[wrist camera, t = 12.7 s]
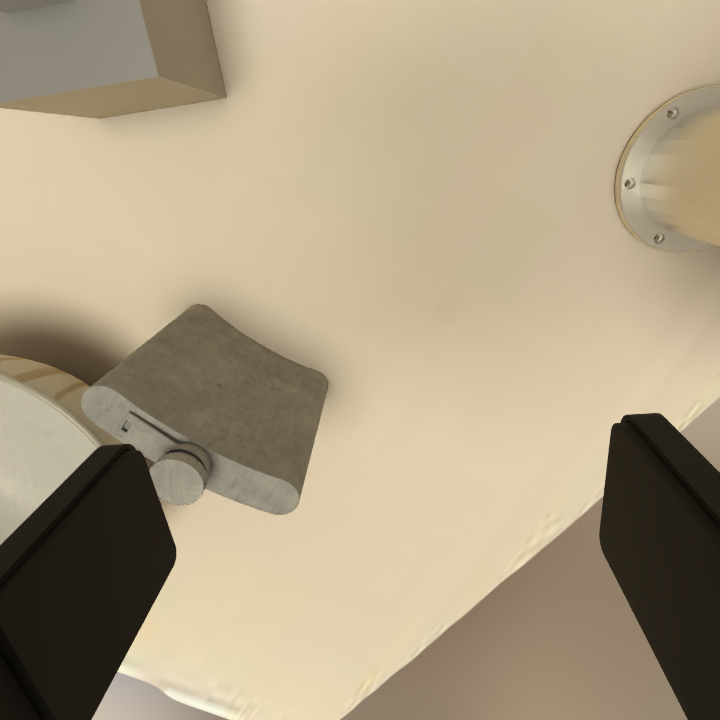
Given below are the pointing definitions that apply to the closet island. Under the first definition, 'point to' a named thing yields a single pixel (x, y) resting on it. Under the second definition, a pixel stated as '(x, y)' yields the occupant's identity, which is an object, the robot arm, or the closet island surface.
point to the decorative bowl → (39, 436)
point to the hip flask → (213, 413)
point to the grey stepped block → (106, 56)
